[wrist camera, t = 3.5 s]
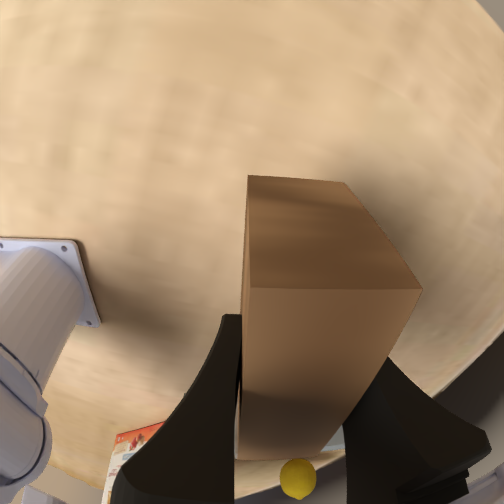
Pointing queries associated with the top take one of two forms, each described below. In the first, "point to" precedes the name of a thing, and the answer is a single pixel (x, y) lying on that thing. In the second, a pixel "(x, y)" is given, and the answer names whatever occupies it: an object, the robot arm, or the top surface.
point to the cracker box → (126, 453)
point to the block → (312, 313)
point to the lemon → (298, 478)
